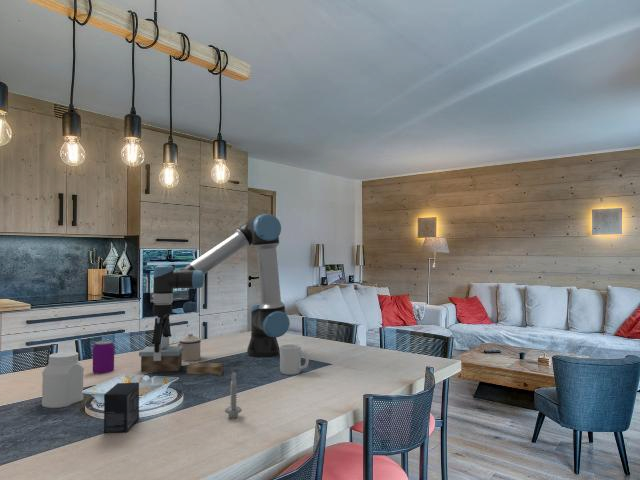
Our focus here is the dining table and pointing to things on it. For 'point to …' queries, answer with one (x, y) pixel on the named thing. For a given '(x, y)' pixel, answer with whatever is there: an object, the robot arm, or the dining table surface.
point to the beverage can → (103, 357)
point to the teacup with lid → (190, 348)
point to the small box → (121, 407)
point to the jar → (62, 380)
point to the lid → (163, 351)
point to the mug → (292, 359)
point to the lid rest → (205, 368)
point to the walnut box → (161, 363)
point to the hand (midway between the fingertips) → (161, 356)
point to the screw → (233, 399)
